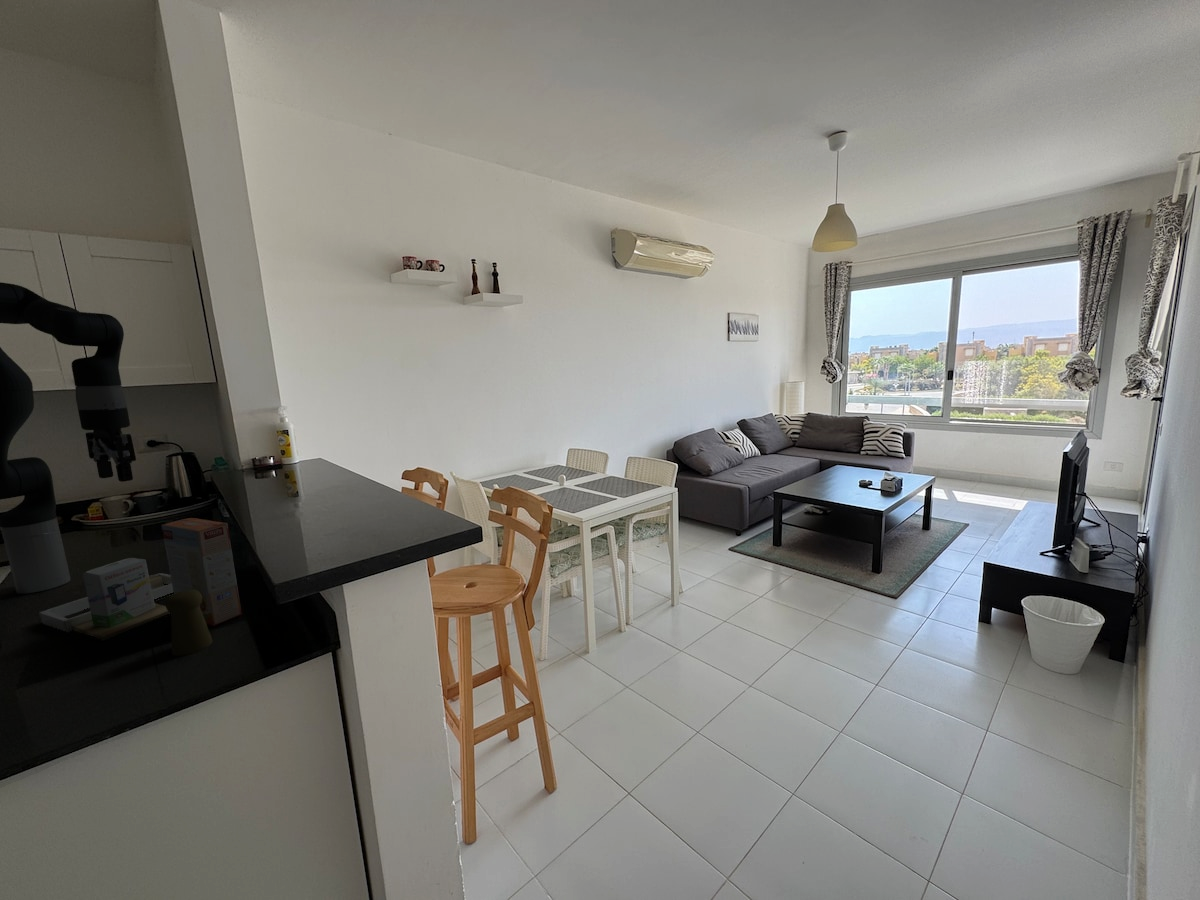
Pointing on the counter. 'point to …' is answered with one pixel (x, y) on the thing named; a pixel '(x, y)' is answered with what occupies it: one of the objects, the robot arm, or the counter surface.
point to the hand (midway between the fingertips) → (116, 479)
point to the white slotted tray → (57, 614)
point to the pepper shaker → (187, 623)
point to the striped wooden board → (135, 621)
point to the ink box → (118, 591)
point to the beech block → (155, 581)
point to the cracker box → (203, 565)
